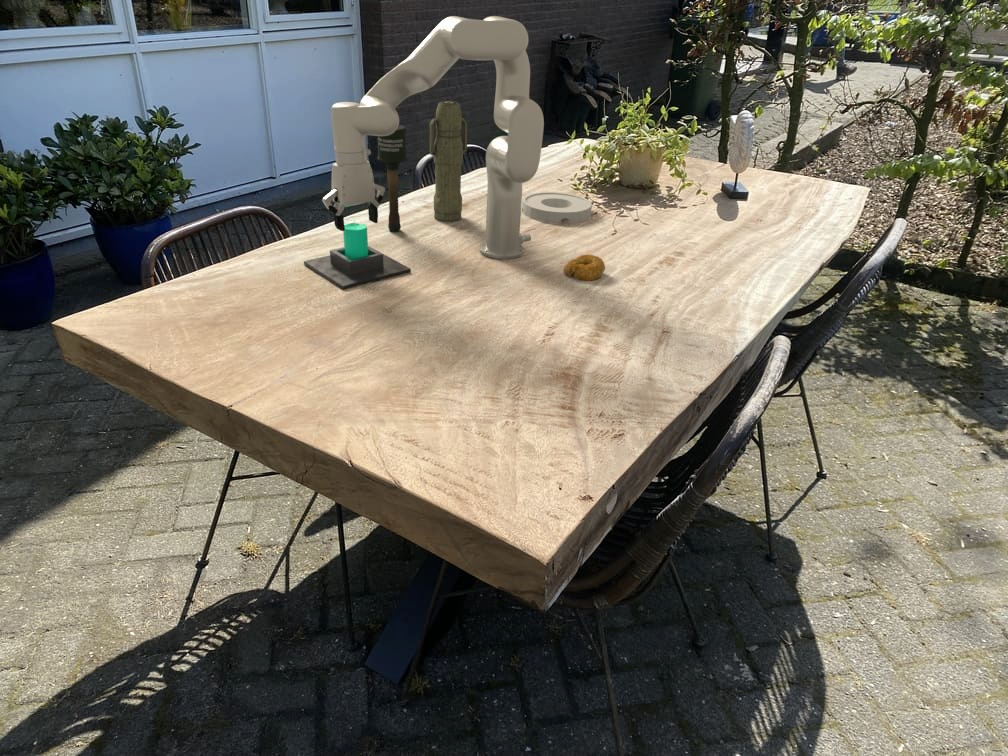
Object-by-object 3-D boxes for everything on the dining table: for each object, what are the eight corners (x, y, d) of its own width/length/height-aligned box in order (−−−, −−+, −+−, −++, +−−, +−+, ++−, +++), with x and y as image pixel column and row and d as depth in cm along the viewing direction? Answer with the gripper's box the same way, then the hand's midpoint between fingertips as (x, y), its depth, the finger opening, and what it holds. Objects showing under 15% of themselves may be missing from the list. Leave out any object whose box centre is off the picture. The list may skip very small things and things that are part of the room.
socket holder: (369, 249, 197) (368, 234, 195) (410, 272, 184) (410, 256, 182) (304, 264, 185) (302, 248, 183) (343, 289, 173) (342, 272, 170)
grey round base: (545, 199, 250) (546, 188, 248) (603, 213, 238) (604, 201, 236) (507, 213, 233) (508, 201, 231) (567, 229, 222) (568, 217, 220)
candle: (363, 270, 181) (361, 225, 175) (341, 267, 182) (338, 222, 176) (372, 262, 186) (370, 218, 180) (351, 259, 187) (348, 215, 181)
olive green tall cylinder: (471, 219, 225) (474, 103, 207) (438, 224, 219) (439, 105, 201) (456, 211, 231) (458, 98, 213) (425, 216, 225) (424, 100, 207)
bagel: (562, 266, 194) (563, 250, 191) (602, 269, 194) (604, 252, 191) (563, 280, 185) (565, 263, 183) (605, 283, 185) (607, 266, 183)
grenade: (374, 232, 210) (370, 127, 195) (389, 224, 217) (386, 122, 202) (399, 237, 207) (396, 131, 192) (413, 228, 214) (412, 126, 199)
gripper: (373, 149, 178) (378, 215, 187) (311, 159, 168) (319, 228, 177) (390, 155, 173) (393, 222, 182) (327, 165, 163) (334, 236, 172)
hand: (357, 225), depth 179 cm, fingers open, 9 cm apart
